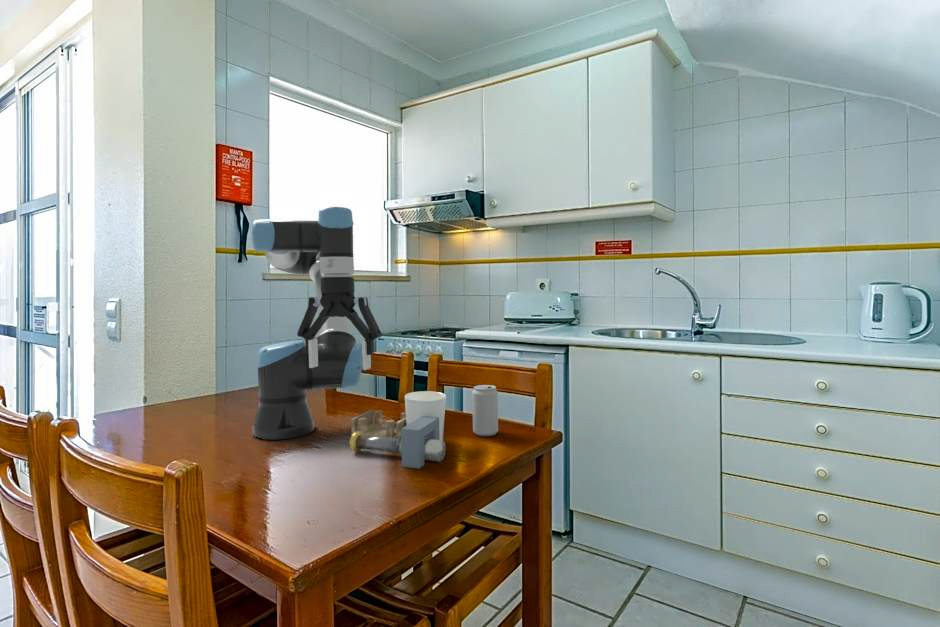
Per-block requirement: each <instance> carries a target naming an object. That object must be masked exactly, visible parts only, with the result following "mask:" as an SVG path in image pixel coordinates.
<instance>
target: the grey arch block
mask: <svg viewBox="0 0 940 627" xmlns="http://www.w3.org/2000/svg"><path fill="white" fill-rule="evenodd" d="M424 439H435V440H439V417H428V416H422V417H420V418H419V419H417V420H415V421H414V422H412V423H410V424H409V425H407V426H405V427H403V428H402V429H401V443H402V457H401V466H402V467H403V468H411V469H419V470H420V469H421V468H422V467H423V466H425V460H424Z"/></svg>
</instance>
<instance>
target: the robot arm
mask: <svg viewBox="0 0 940 627" xmlns="http://www.w3.org/2000/svg"><path fill="white" fill-rule="evenodd" d="M353 219H354V218H353V212H352V210H351V209H350V208H348V207H343V206H325V207H321V208H319V211H318V219H317V220H292V219H291V220H289V219H287V220H286V219H285V220H284V219H270V218H267V219H255V220H253V221H252V225H251V236H252V239H251V240H252V245H253V246H252V248H253V249H254V251H256V252H262V253H263V252H264V253H265V258H266V260H267V262H268V263H269V265H271V266H272V267H274V268H275V269H276V270H279V271H281V272H284V273H288V274H293V275H309V277H310V279H311V280H312V281H313V283H314V288H315V292H314V293H315V296H312V297H309V298H308V305H307V306H308V307H307V309H306V310H305V313H304V316H303V318H302V321H301V322H300V325H299V329H298V330H297V334H296V335H297V337H299V338H303V339H304V340H290V341H284V342H278V343H273V344H270V345H266V346H263V347H261V348H260V349H259V350H258V352H257V365H256V368H257V378H258V379H257V381H258V382H257V384H258V386H257V387H258V406H257V410H256V414H255V417H254V423H253V424H252V436H253V435H254V436H255V437H254V436H253V437H254V438H256V437H258V438H257V439H259V438H262V439H261V440H267V439H268V440H269V441H273V440H287V439H292V438H298V437H302V436H304V435H308V434H310V433H312V432H313V431H314V430H315V420H314V418H313V417H312V412H311V410H310V409H311V408H310V407H309V404H308V400H307V391H313V390H315V391H316V390H326V389H327V390H328V389H329V390H330V389H339V388H340V389H346V388H350V387H356V386H357V385H358V386H359V384H360V381H361V377H362V371H367V370H370V369H371V368H372V365H371V364H372V358H371V357H372V355H374V354H375V339H379V338H382V335H383V333H382V332H381V329H380V327H379V325H378V323H377V320H376V319H375V317H374V314H373V313H372V311H371V309H370V307H369V299H368V297H367V296H360V297H358V298H357V297H355V278H354V277H353V276H352V275H354V274H355V262H354V221H353ZM355 306H357V308H359V311H360V313H361V315H362V317H363V320H364V321H365V323H364V321H363V320H362V318H360V316H359V314H358V312H357V311H356V310H355V308H354V307H355ZM315 317H316V319H315ZM314 319H315V321H314ZM313 321H314V322H313ZM349 321H350V322H351V323H352V325H353V326H354V327H355V329H356V330H357V331H358V332H359V333H360V335H361V336H362V337H363V339H364V340H363V341H361V342H357V339H356V338H355V336H354V335H353V334H352V333H350V328H349V327H350V326H349V325H350V324H349ZM316 335H317V336H316Z"/></svg>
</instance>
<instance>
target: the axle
mask: <svg viewBox="0 0 940 627" xmlns="http://www.w3.org/2000/svg"><path fill="white" fill-rule="evenodd" d="M445 442H446V441H444V439H443V440H435V439H424V461H431V462H439V463H440V462H442V461H443V460H444V458H445V455H446V443H445ZM398 453H399V456H400V457H401V458H402V443H401V442H400V446H399V452H398Z"/></svg>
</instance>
